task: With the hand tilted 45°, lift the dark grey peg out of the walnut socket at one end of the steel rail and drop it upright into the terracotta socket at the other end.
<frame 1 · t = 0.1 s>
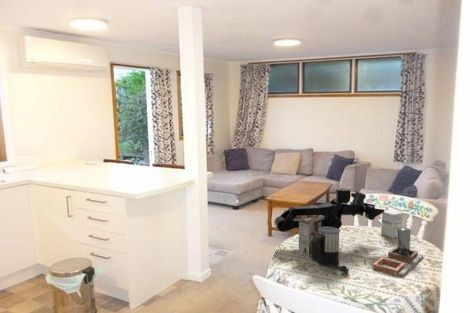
hand: (379, 208, 182), 17 cm above the table, tool horizontal, fingers open, 9 cm apart
socket rail: (396, 262, 158), on the table
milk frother: (333, 267, 154), on the table
supplement box: (391, 235, 192), on the table
coffee box: (309, 254, 168), on the table
grey peg: (402, 256, 164), resting in socket rail
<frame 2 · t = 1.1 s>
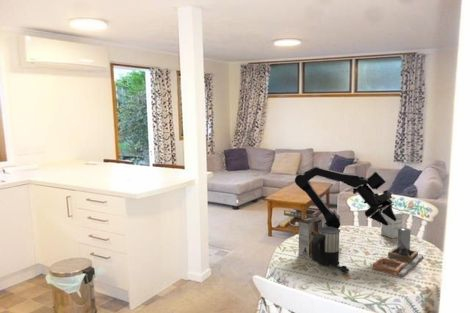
hand: (391, 222, 166), 14 cm above the table, tool tilted 45°, fingers open, 9 cm apart
nothing on the table moved.
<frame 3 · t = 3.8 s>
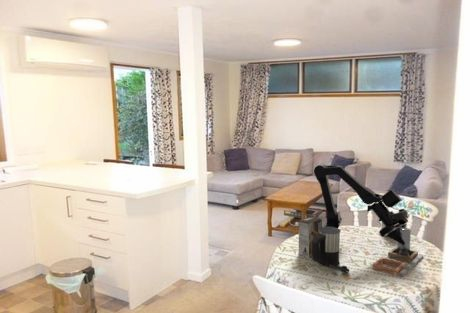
hand: (406, 242, 162), 7 cm above the table, tool tilted 45°, fingers closed on grey peg, 5 cm apart
grey peg: (402, 256, 164), resting in socket rail, touching gripper
everything else where it was.
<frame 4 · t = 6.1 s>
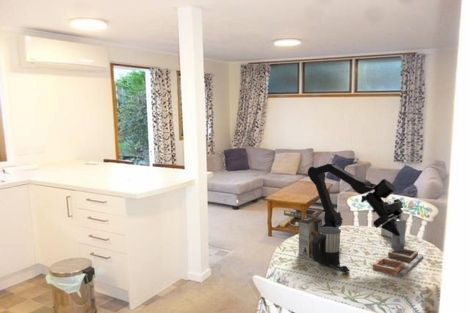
hand: (401, 234, 156), 12 cm above the table, tool tilted 45°, fingers closed on grey peg, 5 cm apart
grey peg: (397, 248, 158), point 6 cm above the table, touching gripper
everything else where it was.
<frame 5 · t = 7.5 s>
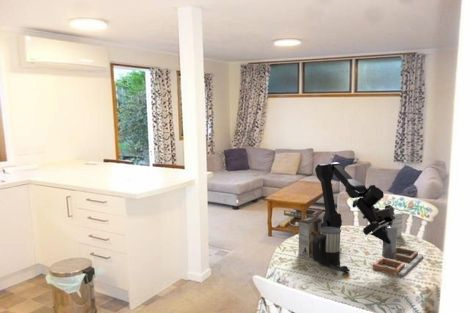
hand: (393, 241, 149), 12 cm above the table, tool tilted 45°, fingers closed on grey peg, 5 cm apart
grey peg: (388, 256, 151), point 5 cm above the table, touching gripper
everything else where it was.
when the fingers open (9 cm above the table, at t = 8.4 s): grey peg drops 2 cm, resting in socket rail.
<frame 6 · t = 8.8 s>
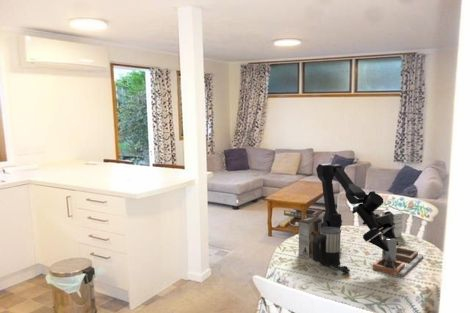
hand: (393, 248, 149), 9 cm above the table, tool tilted 45°, fingers open, 9 cm apart
grey peg: (388, 268, 151), resting in socket rail
everything else where it was.
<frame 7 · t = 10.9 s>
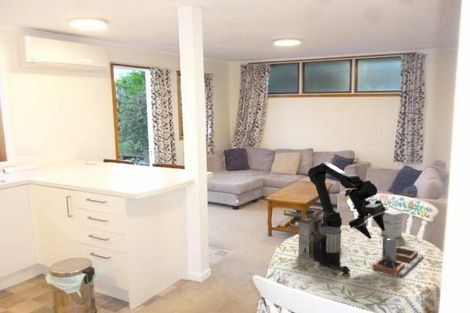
hand: (377, 234, 159), 12 cm above the table, tool tilted 30°, fingers open, 9 cm apart
nothing on the table moved.
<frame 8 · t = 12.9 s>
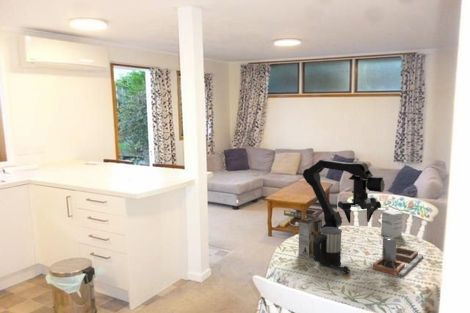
hand: (358, 222, 171), 13 cm above the table, tool pointing down, fingers open, 9 cm apart
nothing on the table moved.
at the end: grey peg 0.1 cm from the target spot, resting in socket rail; grey peg tilted 0°; the gripper is holding nothing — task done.
